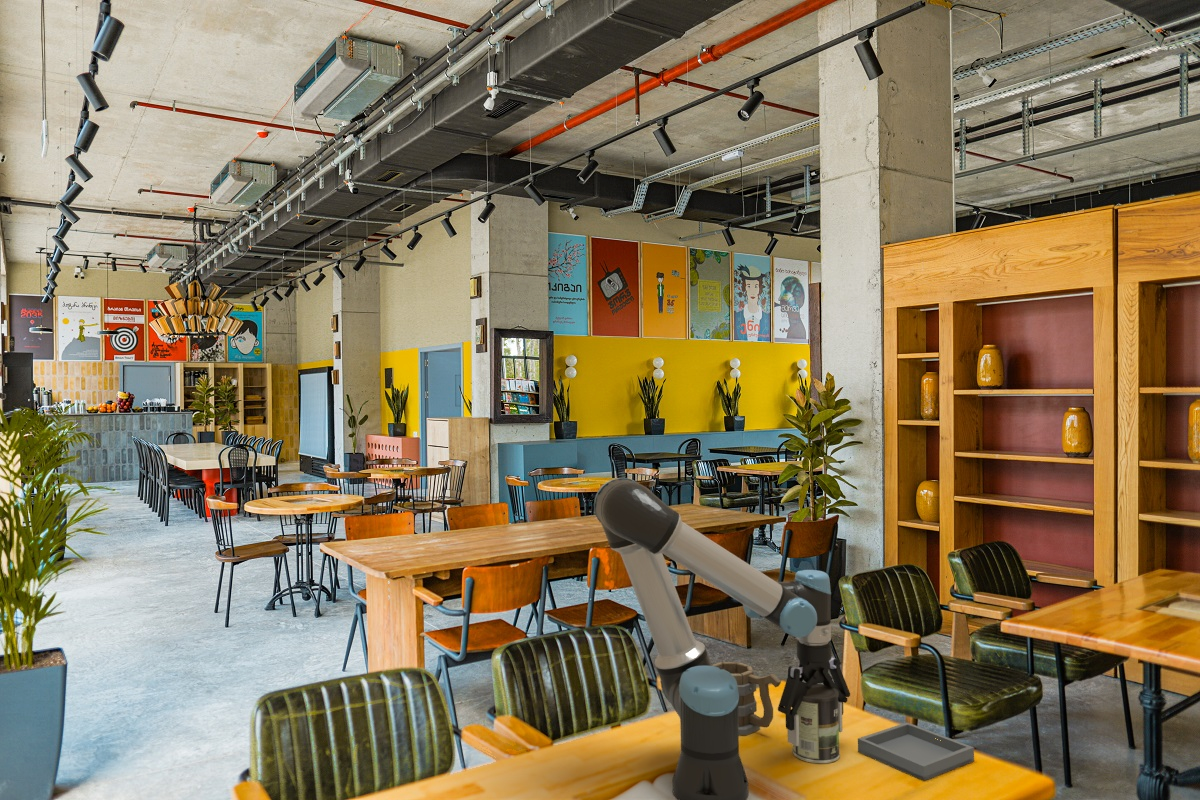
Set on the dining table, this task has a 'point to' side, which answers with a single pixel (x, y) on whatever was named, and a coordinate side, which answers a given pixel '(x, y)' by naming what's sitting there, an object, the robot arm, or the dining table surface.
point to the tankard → (751, 696)
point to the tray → (916, 750)
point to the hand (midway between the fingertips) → (815, 737)
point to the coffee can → (818, 726)
